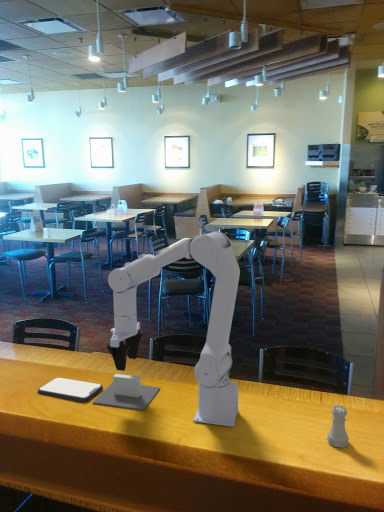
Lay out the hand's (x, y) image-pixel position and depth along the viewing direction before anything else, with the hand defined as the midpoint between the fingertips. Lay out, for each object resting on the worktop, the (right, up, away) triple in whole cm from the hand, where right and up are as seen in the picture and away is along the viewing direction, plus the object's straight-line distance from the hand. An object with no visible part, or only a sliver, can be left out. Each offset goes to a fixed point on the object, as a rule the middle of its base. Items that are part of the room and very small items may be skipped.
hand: (126, 363), depth 108 cm
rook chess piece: (+48, -12, -19) cm, 53 cm away
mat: (0, -9, +1) cm, 9 cm away
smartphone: (-16, -9, +5) cm, 19 cm away
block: (0, -8, +1) cm, 9 cm away
